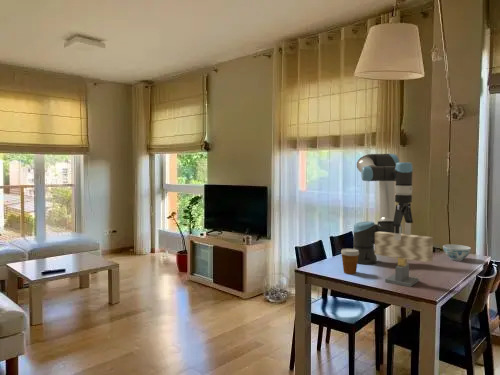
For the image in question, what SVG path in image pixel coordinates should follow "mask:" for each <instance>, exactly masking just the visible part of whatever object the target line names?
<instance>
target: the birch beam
mask: <svg viewBox="0 0 500 375" xmlns="http://www.w3.org/2000/svg"><path fill="white" fill-rule="evenodd" d="M394 239H395V233H389V232H380V231H378V232H375V244H374V251H375V255H376V256H377V255H378V256H381V257H383V256H385V257H390V258H396V259H398V258H402V259H407V260H410V261H417V262H423V263H424V262H425V263H431V262H432V261H433V259H434V258H433V257H434V256H433V254H434V253H433V251H434V250H433V249H434V237H433V236H426V235H416V234H411V235H408V234H405V233H402V234H401V240H394Z"/></svg>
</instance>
